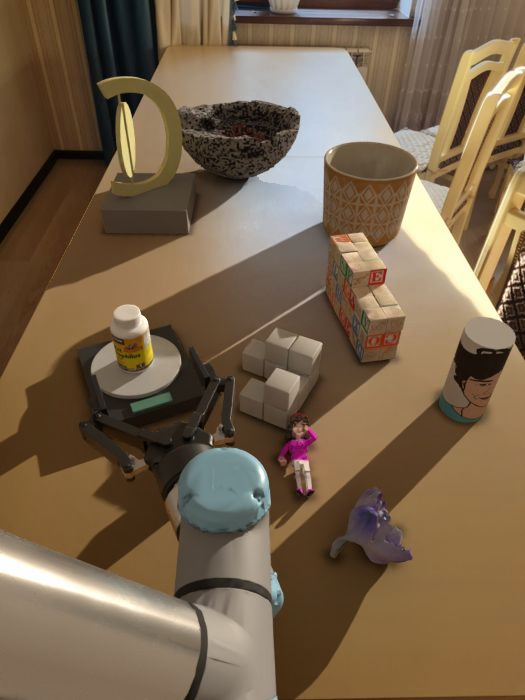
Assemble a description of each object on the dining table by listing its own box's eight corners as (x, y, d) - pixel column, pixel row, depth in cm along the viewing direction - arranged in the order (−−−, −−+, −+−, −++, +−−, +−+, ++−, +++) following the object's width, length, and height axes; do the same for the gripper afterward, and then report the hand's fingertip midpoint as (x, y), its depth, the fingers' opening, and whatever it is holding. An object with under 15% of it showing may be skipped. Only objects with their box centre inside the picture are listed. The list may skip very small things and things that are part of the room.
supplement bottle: (112, 372, 84) (99, 321, 77) (127, 348, 88) (116, 298, 81) (146, 378, 83) (136, 327, 76) (159, 354, 87) (151, 303, 80)
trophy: (121, 194, 134) (97, 61, 114) (196, 195, 134) (186, 63, 114) (105, 232, 121) (75, 90, 100) (188, 233, 121) (175, 91, 100)
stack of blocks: (396, 359, 91) (410, 300, 83) (360, 364, 90) (371, 305, 82) (354, 286, 107) (362, 231, 98) (323, 289, 106) (330, 234, 97)
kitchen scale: (102, 438, 78) (98, 423, 76) (79, 359, 90) (75, 345, 88) (206, 404, 83) (205, 390, 81) (172, 334, 95) (170, 320, 93)
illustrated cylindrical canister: (453, 426, 81) (481, 352, 70) (431, 394, 85) (455, 321, 75) (492, 417, 82) (526, 344, 72) (468, 386, 87) (497, 313, 77)
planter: (402, 213, 129) (416, 145, 118) (403, 257, 115) (420, 184, 103) (321, 206, 131) (328, 138, 120) (313, 247, 117) (319, 175, 106)
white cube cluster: (253, 355, 92) (253, 318, 86) (318, 379, 88) (322, 342, 82) (216, 401, 84) (214, 364, 78) (286, 430, 80) (288, 393, 74)
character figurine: (323, 499, 72) (312, 423, 80) (326, 481, 68) (314, 403, 76) (281, 502, 72) (273, 425, 80) (282, 484, 68) (273, 406, 76)
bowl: (320, 172, 145) (325, 114, 135) (237, 212, 128) (236, 150, 118) (238, 139, 161) (237, 86, 151) (154, 171, 144) (147, 113, 134)
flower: (339, 571, 57) (405, 504, 58) (303, 526, 65) (362, 468, 66) (380, 612, 61) (441, 549, 62) (341, 565, 69) (396, 509, 70)
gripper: (89, 550, 59) (57, 413, 73) (294, 471, 66) (229, 362, 81) (74, 513, 53) (43, 374, 68) (298, 432, 61) (228, 323, 75)
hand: (144, 367), depth 74 cm, fingers open, 13 cm apart
